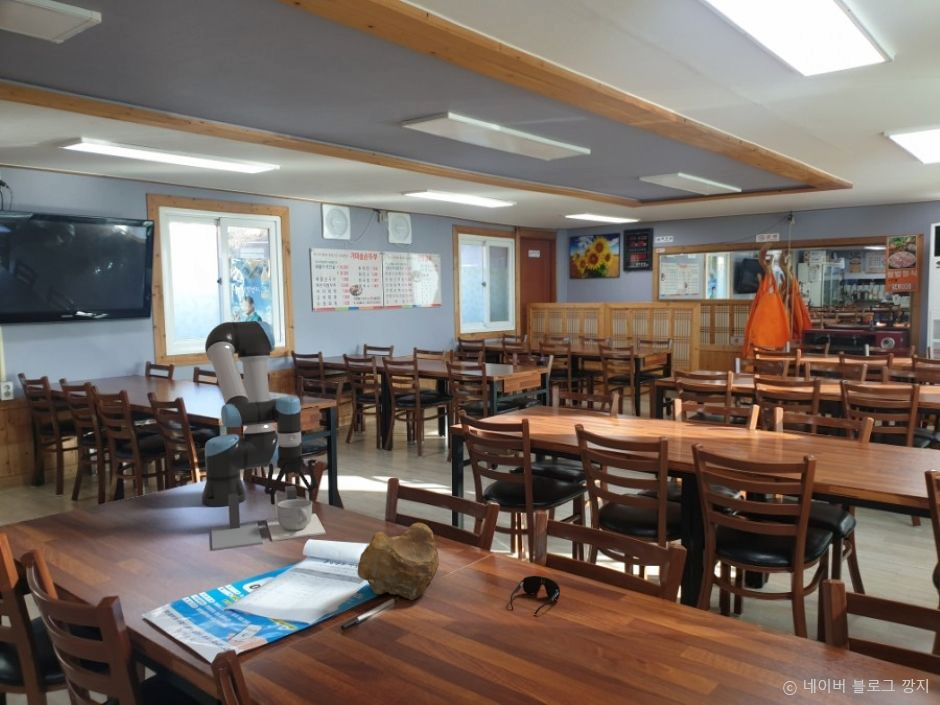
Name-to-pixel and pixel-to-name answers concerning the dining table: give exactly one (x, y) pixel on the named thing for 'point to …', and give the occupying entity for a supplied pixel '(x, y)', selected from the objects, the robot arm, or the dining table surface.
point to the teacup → (294, 513)
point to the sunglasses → (534, 585)
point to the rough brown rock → (400, 562)
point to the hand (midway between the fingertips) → (292, 511)
